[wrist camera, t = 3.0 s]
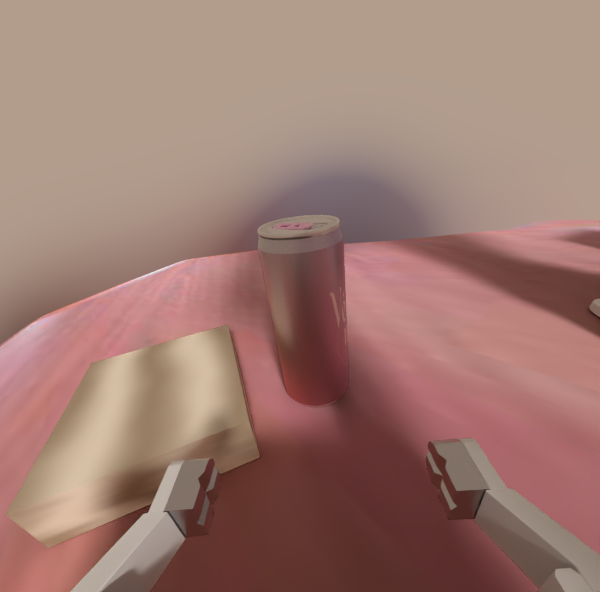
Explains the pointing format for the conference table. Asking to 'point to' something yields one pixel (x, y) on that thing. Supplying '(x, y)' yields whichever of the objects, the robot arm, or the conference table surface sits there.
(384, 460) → the conference table surface
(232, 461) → the ash base block
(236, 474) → the conference table surface
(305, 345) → the beverage can
